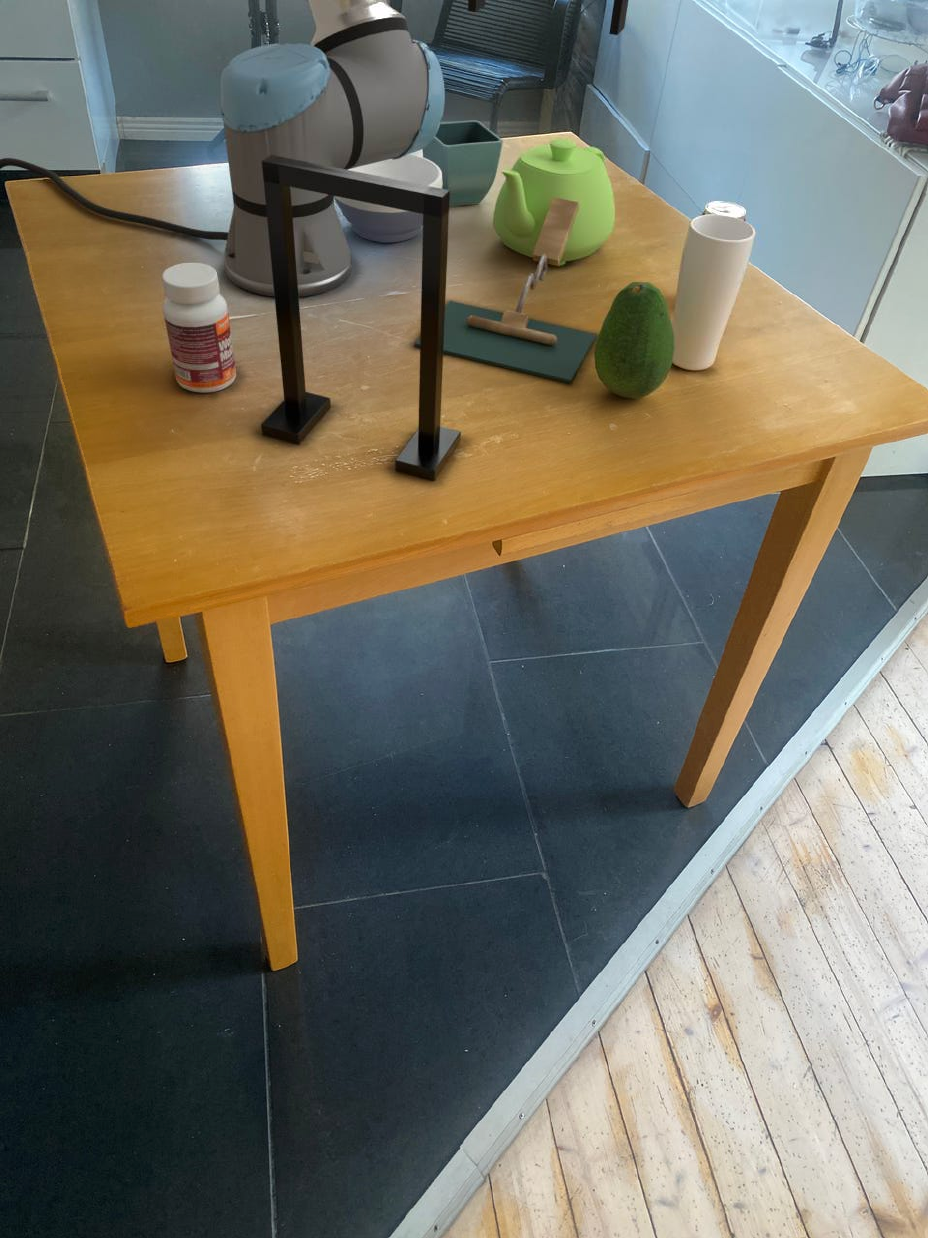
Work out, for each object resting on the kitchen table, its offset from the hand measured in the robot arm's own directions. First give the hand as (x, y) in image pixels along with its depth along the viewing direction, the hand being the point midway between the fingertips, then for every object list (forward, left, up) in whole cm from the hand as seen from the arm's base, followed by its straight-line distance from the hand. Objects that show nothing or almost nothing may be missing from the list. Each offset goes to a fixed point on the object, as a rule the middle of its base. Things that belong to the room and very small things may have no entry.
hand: (545, 19), depth 88 cm
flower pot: (-19, +31, -31) cm, 48 cm away
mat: (0, -4, -31) cm, 31 cm away
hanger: (0, -2, -32) cm, 32 cm away
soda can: (+19, +14, -31) cm, 39 cm away
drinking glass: (+20, +1, -31) cm, 37 cm away
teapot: (-3, +21, -31) cm, 38 cm away
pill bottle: (-26, -25, -31) cm, 47 cm away
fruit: (+15, -9, -31) cm, 36 cm away
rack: (-7, -28, -31) cm, 42 cm away
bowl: (-24, +17, -31) cm, 43 cm away
